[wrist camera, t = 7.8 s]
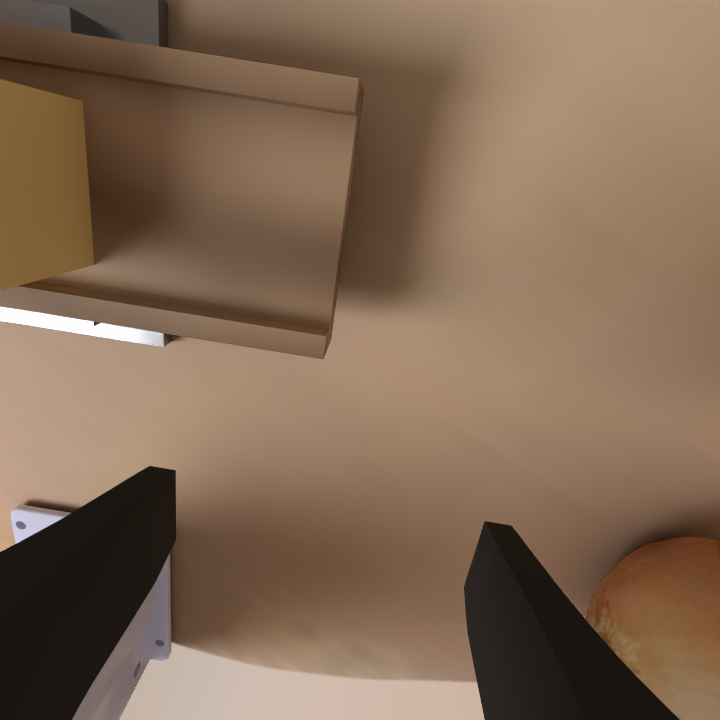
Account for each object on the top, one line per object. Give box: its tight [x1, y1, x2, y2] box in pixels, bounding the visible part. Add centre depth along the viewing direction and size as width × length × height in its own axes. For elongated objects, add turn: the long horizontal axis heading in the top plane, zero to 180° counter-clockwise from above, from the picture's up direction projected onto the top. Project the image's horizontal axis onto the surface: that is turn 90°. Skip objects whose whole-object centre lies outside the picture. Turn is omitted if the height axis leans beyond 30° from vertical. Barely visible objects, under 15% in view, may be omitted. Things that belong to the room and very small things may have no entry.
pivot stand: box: [0, 0, 170, 347], centre depth 16 cm, size 12×8×2 cm, turn 172°
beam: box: [0, 21, 364, 359], centre depth 15 cm, size 8×22×3 cm, turn 82°
